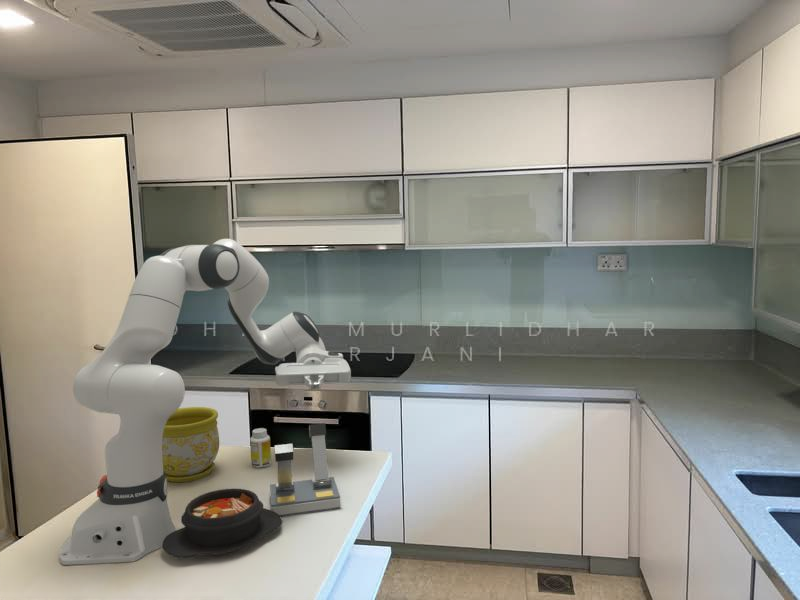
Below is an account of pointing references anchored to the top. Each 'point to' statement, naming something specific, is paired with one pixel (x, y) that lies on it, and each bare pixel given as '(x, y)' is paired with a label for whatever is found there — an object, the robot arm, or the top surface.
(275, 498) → the switch unit
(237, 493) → the casserole
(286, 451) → the lever left
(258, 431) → the supplement bottle
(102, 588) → the top surface
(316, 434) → the lever right
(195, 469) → the flowerpot
